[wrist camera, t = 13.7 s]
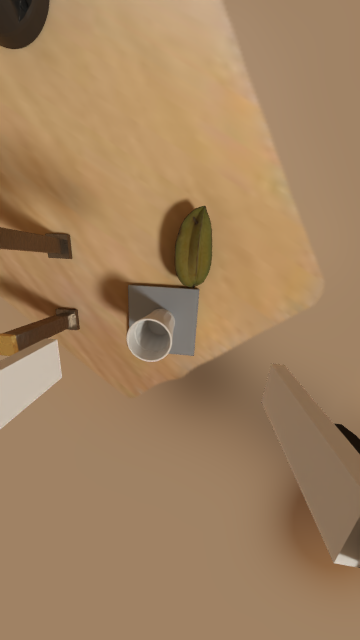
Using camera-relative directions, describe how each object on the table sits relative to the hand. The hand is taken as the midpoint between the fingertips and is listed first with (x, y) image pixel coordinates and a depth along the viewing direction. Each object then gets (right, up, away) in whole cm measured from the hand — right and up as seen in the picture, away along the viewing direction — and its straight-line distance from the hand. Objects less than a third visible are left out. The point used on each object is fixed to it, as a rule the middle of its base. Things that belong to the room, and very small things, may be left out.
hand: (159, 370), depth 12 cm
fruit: (+5, +18, +29) cm, 34 cm away
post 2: (-27, +3, +36) cm, 45 cm away
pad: (-3, +3, +34) cm, 34 cm away
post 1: (-26, +20, +31) cm, 45 cm away
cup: (-3, +3, +33) cm, 33 cm away
